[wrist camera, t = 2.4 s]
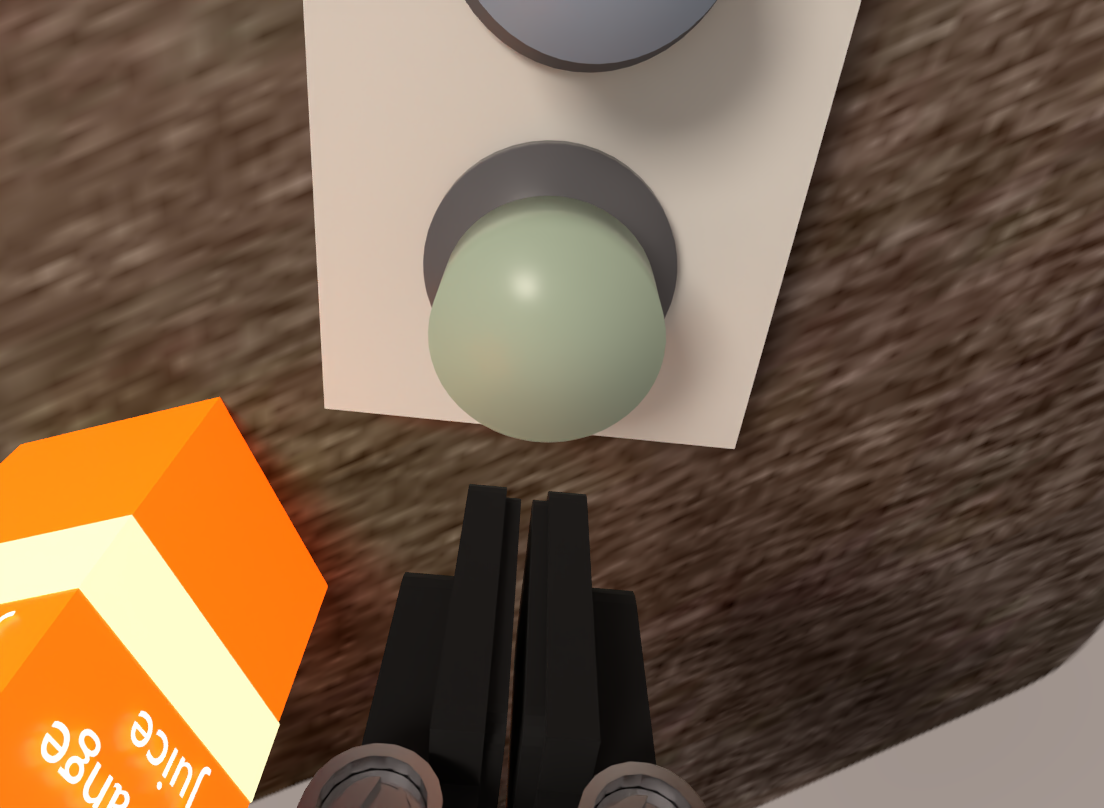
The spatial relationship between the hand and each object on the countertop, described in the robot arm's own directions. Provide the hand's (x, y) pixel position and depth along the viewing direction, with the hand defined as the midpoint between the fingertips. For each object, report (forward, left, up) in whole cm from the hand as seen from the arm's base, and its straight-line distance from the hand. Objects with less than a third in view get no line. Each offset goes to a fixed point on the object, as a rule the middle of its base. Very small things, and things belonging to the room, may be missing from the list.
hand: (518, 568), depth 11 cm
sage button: (0, 0, -8) cm, 8 cm away
